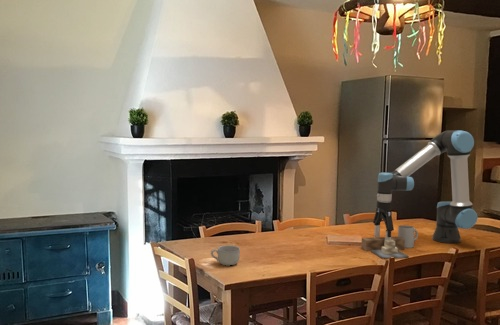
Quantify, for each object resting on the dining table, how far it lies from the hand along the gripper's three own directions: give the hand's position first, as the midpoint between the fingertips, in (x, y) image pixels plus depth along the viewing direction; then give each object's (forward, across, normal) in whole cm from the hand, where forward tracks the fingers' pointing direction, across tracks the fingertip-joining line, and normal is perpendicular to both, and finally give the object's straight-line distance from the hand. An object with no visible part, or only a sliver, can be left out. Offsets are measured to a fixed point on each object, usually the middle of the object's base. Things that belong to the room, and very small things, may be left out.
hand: (382, 240), depth 258 cm
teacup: (+7, +16, -88) cm, 89 cm away
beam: (+5, 0, 0) cm, 5 cm away
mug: (+5, -4, +18) cm, 19 cm away
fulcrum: (+5, +12, -2) cm, 13 cm away
